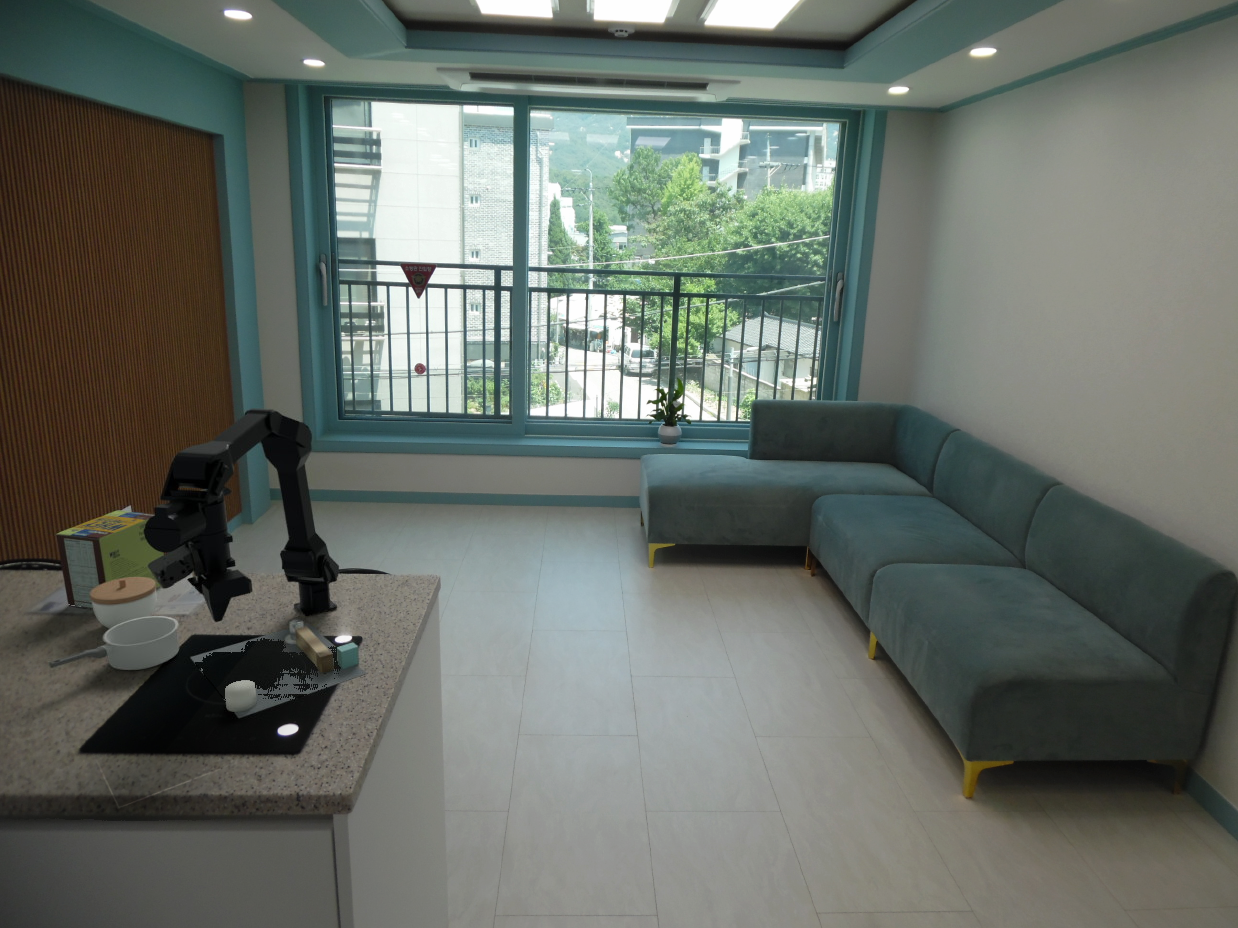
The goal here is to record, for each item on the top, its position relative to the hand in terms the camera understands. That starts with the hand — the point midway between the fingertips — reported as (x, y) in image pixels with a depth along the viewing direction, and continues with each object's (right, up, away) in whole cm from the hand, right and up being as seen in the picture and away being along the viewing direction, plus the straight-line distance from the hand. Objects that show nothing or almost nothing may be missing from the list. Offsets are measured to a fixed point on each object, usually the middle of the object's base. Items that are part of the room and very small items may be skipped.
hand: (217, 620), depth 132 cm
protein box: (-39, -2, +37) cm, 54 cm away
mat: (+5, -10, +10) cm, 15 cm away
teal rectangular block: (+17, -10, +11) cm, 23 cm away
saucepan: (-21, -10, +8) cm, 25 cm away
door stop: (+5, -13, -2) cm, 14 cm away
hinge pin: (+5, -7, +20) cm, 22 cm away
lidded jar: (-29, -6, +24) cm, 38 cm away
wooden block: (+11, -9, +13) cm, 19 cm away
